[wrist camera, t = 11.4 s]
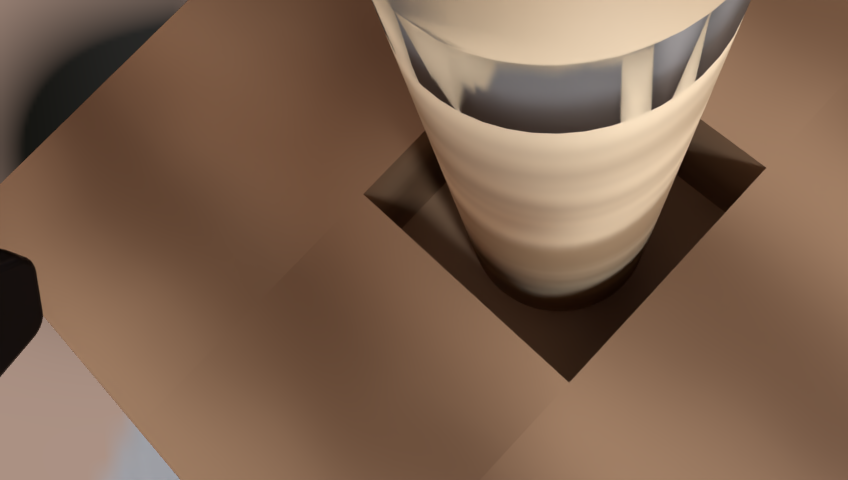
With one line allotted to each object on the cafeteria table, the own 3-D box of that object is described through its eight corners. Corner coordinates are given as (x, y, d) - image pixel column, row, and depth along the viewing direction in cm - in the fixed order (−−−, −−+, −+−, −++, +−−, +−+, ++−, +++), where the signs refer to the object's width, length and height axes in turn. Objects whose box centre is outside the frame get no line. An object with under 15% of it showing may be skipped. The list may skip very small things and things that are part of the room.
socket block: (594, 866, 17) (605, 987, 13) (63, 259, 23) (-38, 220, 19) (1168, 197, 18) (1328, 131, 15) (530, -208, 24) (526, -330, 20)
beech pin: (649, 312, 19) (817, 54, 7) (470, 310, 20) (324, 74, 7) (643, 143, 20) (778, -342, 8) (474, 148, 21) (353, -290, 9)
